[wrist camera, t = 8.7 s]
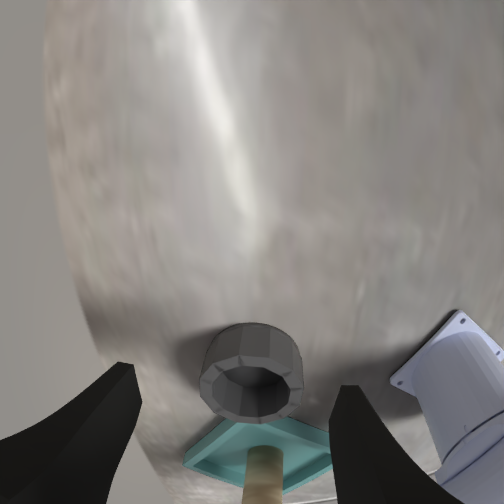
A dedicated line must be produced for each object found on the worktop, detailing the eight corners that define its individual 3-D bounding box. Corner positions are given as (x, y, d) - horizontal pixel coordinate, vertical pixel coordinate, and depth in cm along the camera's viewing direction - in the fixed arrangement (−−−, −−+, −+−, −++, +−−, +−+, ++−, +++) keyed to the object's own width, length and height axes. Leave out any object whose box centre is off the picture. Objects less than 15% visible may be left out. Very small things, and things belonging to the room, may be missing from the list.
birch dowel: (289, 449, 26) (288, 526, 19) (274, 464, 28) (270, 535, 20) (255, 442, 26) (247, 521, 18) (242, 457, 27) (233, 529, 20)
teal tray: (351, 440, 26) (354, 455, 25) (278, 485, 30) (277, 497, 29) (247, 398, 24) (245, 415, 23) (185, 452, 29) (182, 465, 27)
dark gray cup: (318, 350, 22) (323, 385, 19) (265, 400, 24) (263, 433, 21) (239, 306, 21) (233, 338, 18) (193, 364, 23) (183, 397, 20)
